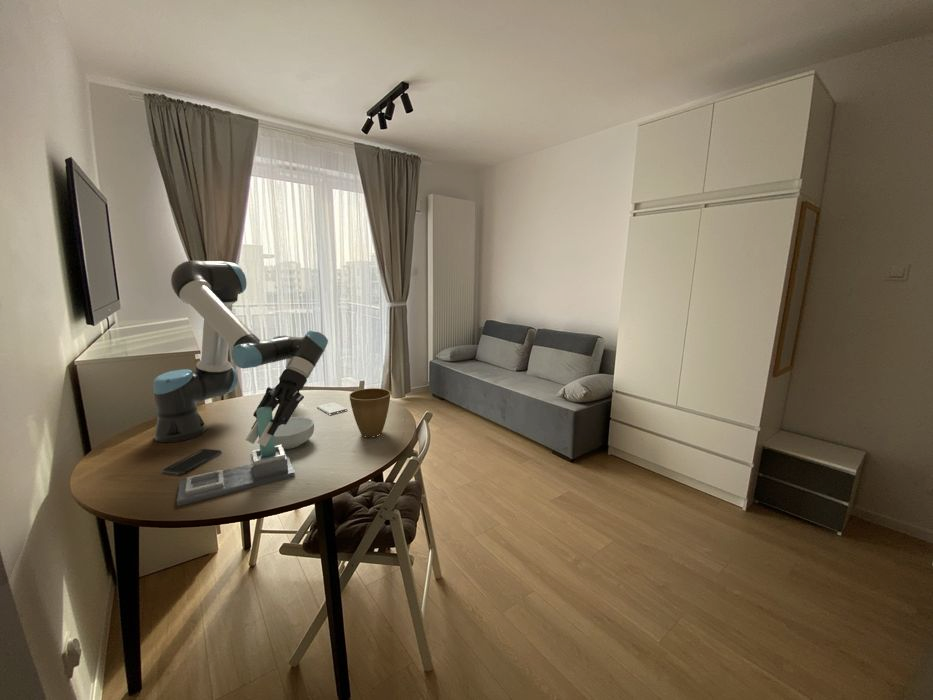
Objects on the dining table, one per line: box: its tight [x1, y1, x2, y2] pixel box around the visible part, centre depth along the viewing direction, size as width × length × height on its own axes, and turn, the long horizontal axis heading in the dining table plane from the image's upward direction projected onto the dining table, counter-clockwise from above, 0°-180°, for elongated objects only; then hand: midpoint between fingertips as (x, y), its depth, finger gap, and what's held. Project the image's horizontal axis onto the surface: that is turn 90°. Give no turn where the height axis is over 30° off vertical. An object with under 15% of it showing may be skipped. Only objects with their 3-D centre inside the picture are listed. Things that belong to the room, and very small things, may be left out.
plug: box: [255, 407, 276, 459], centre depth 112 cm, size 4×4×15 cm
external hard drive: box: [316, 401, 348, 415], centre depth 169 cm, size 2×8×12 cm
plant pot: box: [348, 387, 391, 438], centre depth 142 cm, size 15×15×16 cm
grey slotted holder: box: [176, 445, 296, 507], centre depth 109 cm, size 28×12×7 cm, turn 123°
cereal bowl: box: [274, 416, 315, 450], centre depth 133 cm, size 17×17×7 cm
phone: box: [162, 448, 223, 476], centre depth 120 cm, size 8×1×15 cm
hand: (255, 443), depth 109 cm, fingers closed on plug, 4 cm apart
